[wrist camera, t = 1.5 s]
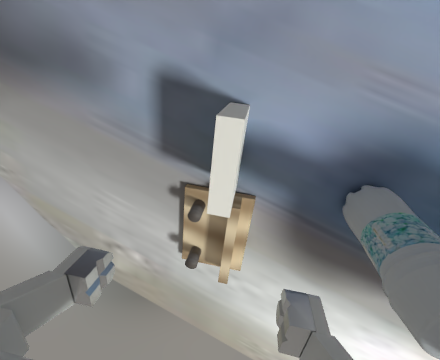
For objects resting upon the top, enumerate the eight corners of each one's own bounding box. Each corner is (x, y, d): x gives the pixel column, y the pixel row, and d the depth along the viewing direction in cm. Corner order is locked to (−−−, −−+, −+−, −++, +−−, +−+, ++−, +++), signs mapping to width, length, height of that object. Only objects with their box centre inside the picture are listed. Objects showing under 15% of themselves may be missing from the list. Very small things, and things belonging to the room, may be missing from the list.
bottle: (326, 208, 30) (418, 404, 12) (361, 169, 27) (553, 355, 9) (367, 230, 30) (514, 450, 13) (407, 194, 27) (675, 419, 10)
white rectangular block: (230, 102, 26) (216, 115, 18) (250, 105, 26) (245, 119, 18) (221, 177, 31) (206, 213, 23) (237, 180, 30) (229, 218, 23)
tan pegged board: (187, 183, 32) (177, 197, 29) (255, 196, 31) (254, 212, 28) (183, 254, 38) (176, 272, 35) (240, 266, 37) (238, 286, 34)
